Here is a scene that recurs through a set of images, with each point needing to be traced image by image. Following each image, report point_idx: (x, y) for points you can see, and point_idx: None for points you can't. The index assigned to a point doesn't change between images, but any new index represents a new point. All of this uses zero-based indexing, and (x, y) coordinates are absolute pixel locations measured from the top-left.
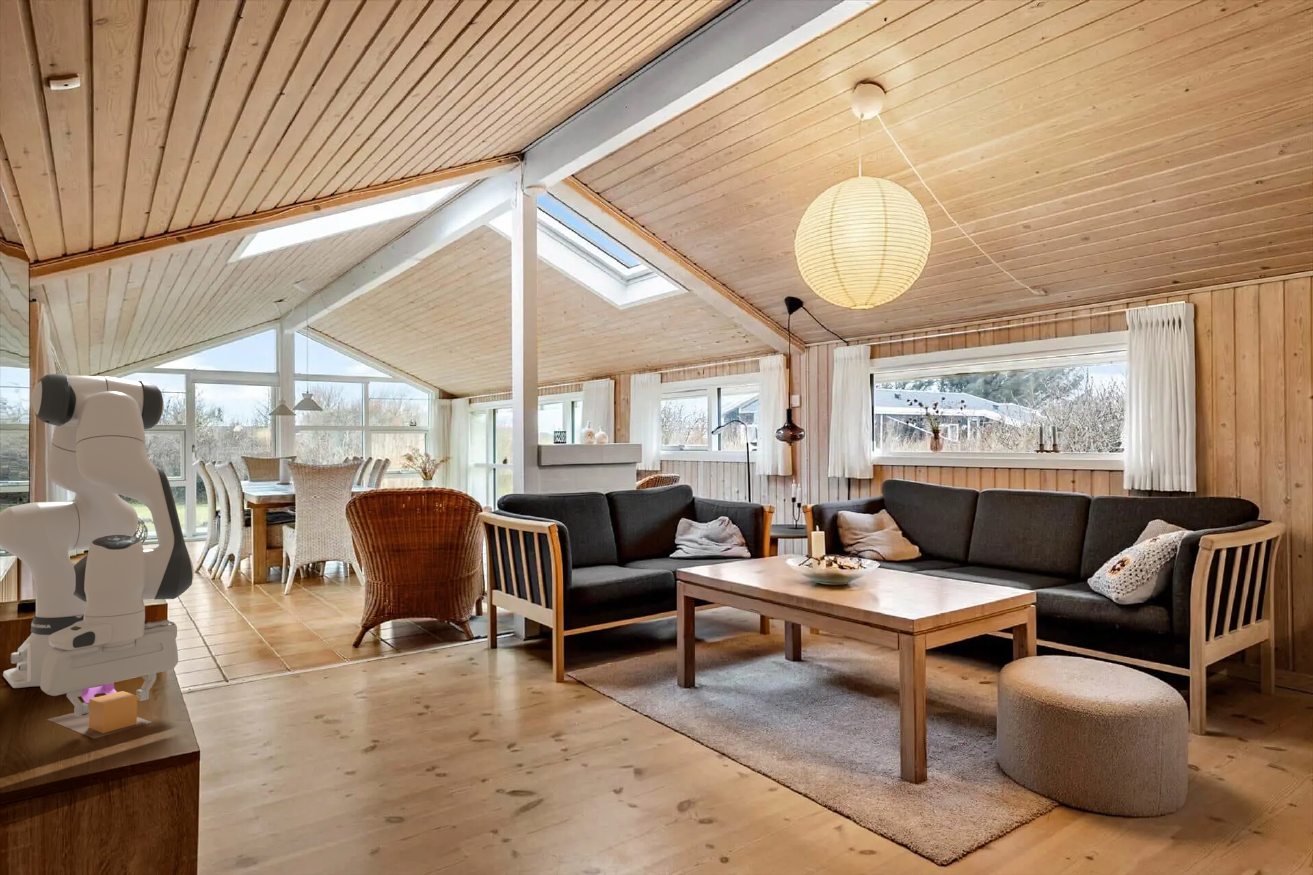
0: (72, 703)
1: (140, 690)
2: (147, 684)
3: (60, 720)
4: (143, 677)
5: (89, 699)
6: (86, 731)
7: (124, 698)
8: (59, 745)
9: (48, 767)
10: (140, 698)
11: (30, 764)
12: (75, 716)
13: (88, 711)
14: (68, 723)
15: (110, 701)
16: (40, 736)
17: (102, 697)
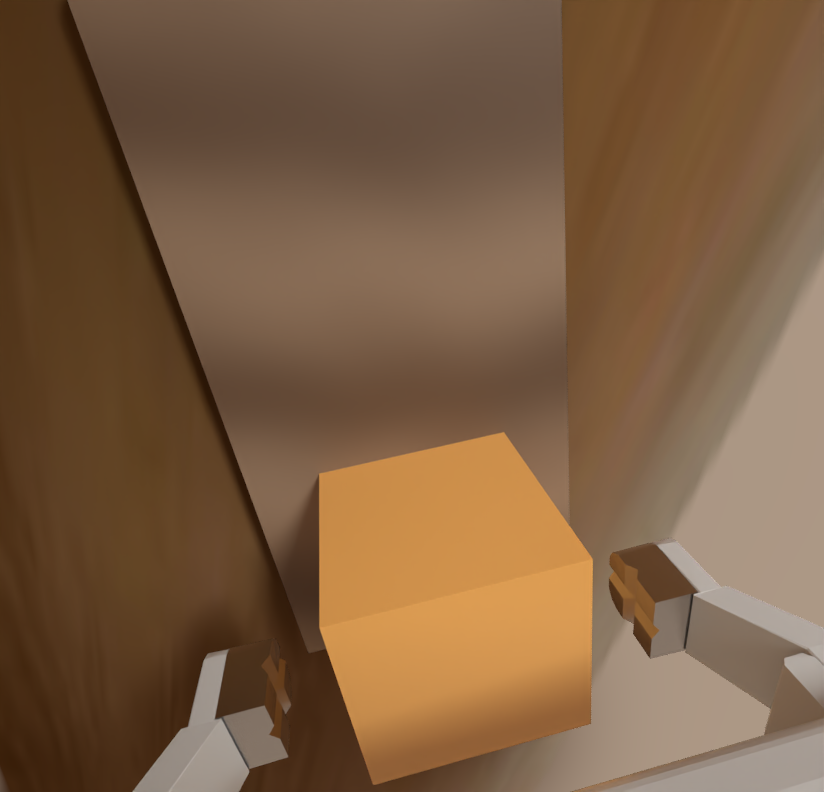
0: (168, 751)
1: (668, 631)
2: (738, 672)
3: (166, 121)
4: (789, 691)
5: (319, 622)
6: (296, 533)
7: (511, 741)
8: (170, 525)
9: (127, 750)
10: (621, 613)
11: (51, 692)
12: (285, 92)
13: (290, 699)
14: (219, 276)
15: (422, 763)
16: (51, 260)
17: (411, 649)
